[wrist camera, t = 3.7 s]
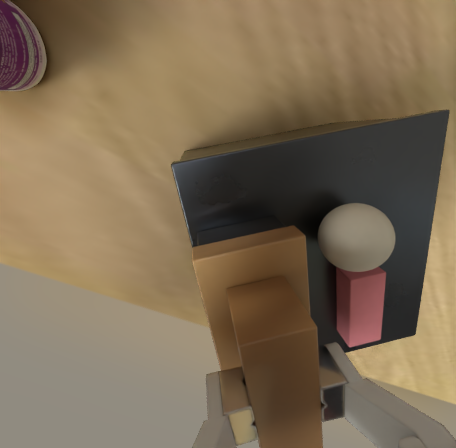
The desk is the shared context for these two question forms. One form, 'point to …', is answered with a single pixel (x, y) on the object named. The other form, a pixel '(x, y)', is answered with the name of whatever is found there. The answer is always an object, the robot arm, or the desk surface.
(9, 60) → the pill bottle
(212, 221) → the cabinet
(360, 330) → the eraser
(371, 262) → the egg
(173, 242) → the desk surface
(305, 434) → the brush
